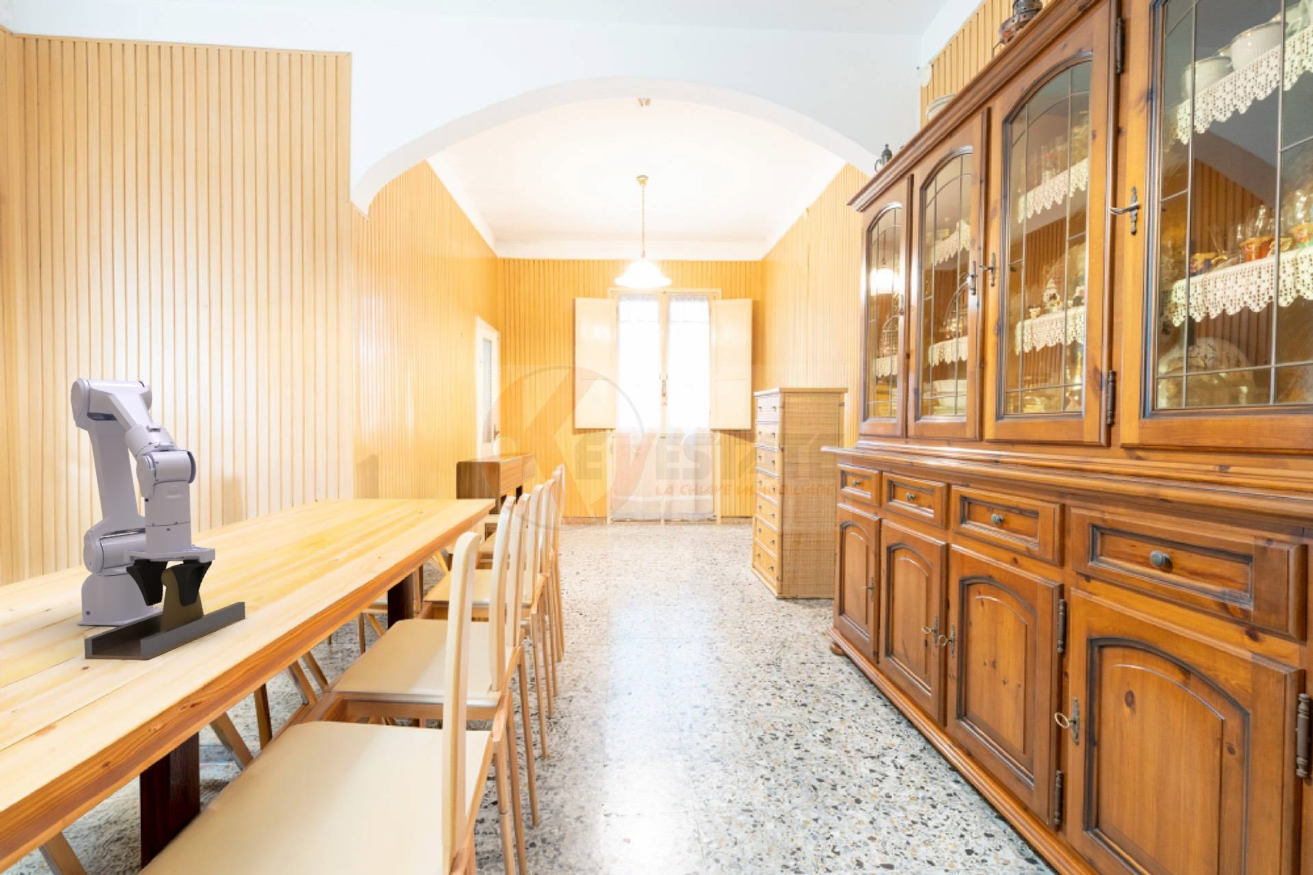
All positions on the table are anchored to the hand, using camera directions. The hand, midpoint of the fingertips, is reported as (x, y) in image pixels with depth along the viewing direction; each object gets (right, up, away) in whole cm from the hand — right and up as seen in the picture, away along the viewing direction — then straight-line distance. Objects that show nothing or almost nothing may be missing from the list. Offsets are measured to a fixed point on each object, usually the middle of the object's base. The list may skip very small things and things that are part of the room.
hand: (171, 604), depth 93 cm
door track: (0, -5, 0) cm, 5 cm away
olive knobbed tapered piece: (0, -5, +2) cm, 5 cm away
